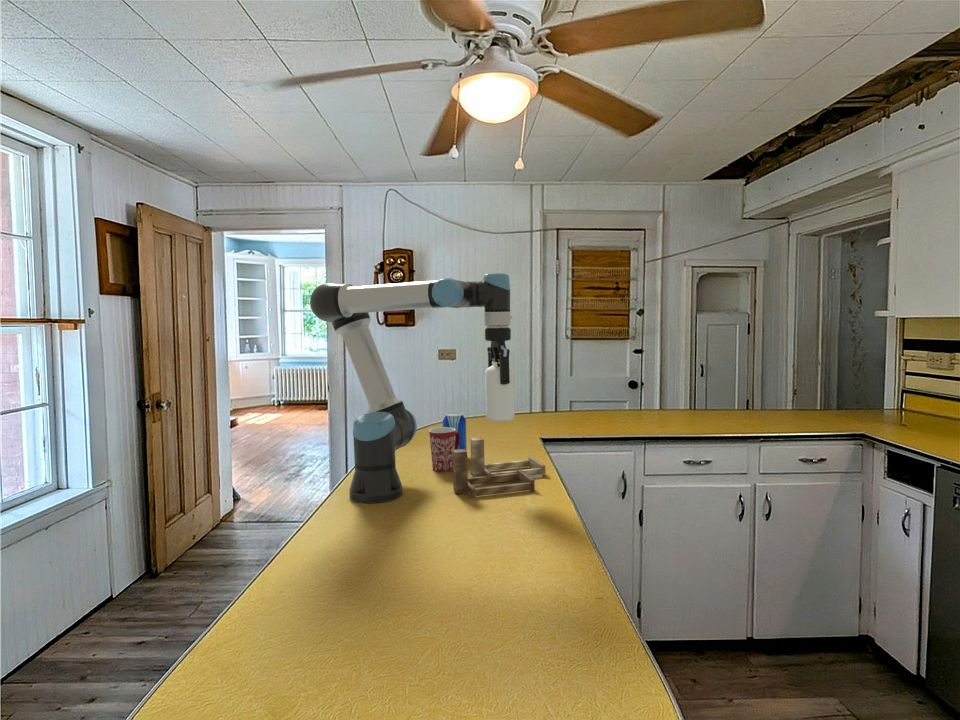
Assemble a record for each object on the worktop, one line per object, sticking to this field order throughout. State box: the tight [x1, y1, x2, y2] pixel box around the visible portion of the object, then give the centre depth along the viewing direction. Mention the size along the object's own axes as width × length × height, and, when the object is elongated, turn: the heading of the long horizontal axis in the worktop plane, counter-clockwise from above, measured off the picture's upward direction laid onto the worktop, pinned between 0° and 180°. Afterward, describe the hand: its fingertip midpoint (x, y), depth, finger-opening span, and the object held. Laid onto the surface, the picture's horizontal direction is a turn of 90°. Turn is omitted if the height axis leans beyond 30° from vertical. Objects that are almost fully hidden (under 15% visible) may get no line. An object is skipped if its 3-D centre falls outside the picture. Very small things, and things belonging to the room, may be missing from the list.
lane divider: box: [530, 474, 544, 479], centre depth 177 cm, size 16×1×1 cm, turn 106°
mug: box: [428, 426, 460, 473], centre depth 192 cm, size 13×9×14 cm
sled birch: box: [469, 437, 547, 477], centre depth 183 cm, size 22×12×12 cm, turn 106°
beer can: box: [442, 412, 468, 452], centre depth 206 cm, size 8×8×16 cm
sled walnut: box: [452, 449, 536, 498], centre depth 168 cm, size 22×12×12 cm, turn 106°
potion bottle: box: [484, 359, 515, 423], centre depth 166 cm, size 8×8×18 cm
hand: (499, 406), depth 167 cm, fingers open, 5 cm apart
